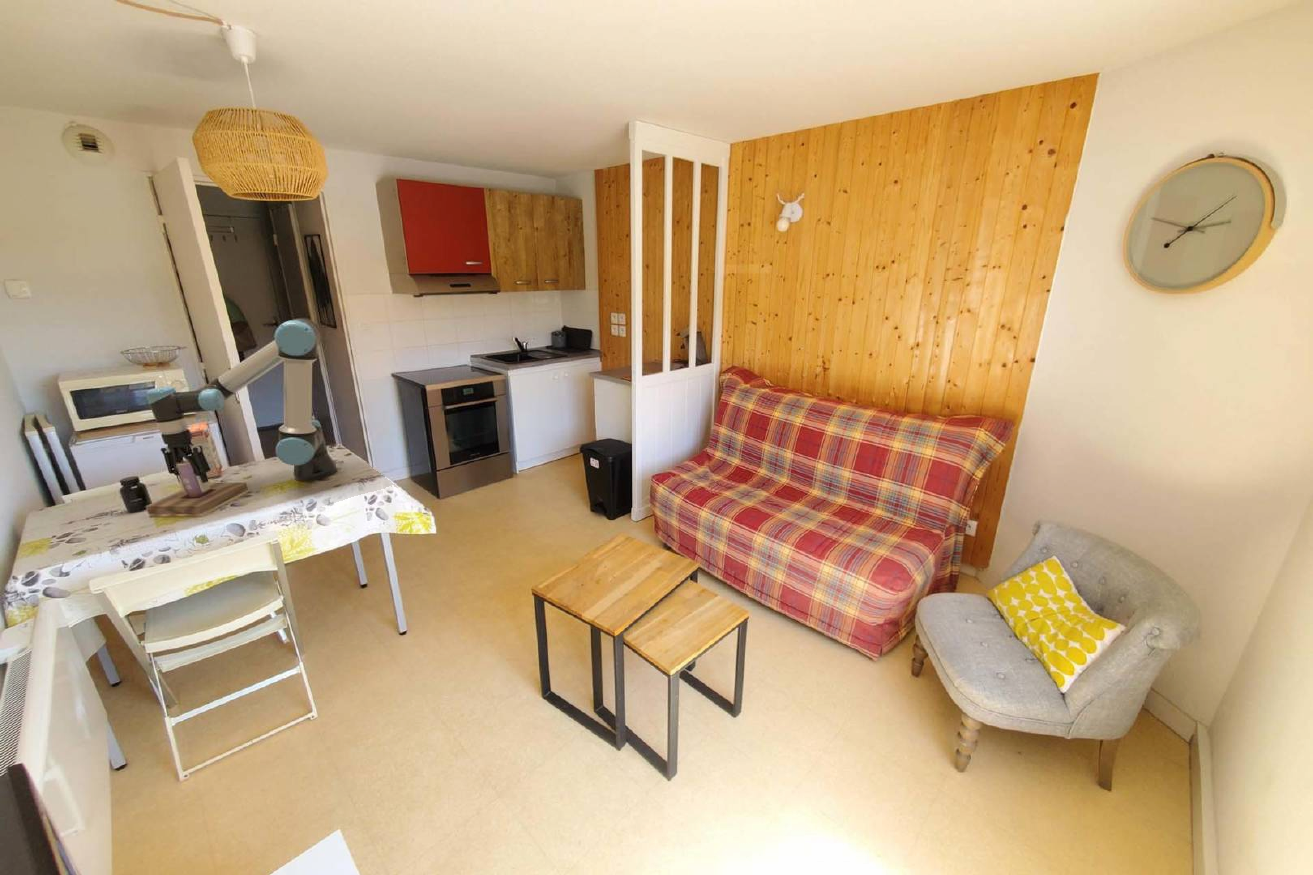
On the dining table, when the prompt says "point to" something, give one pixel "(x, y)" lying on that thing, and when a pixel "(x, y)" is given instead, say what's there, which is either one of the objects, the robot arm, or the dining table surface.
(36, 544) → the dining table surface
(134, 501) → the supplement bottle
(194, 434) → the cracker box
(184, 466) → the beverage can
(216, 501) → the socket block
